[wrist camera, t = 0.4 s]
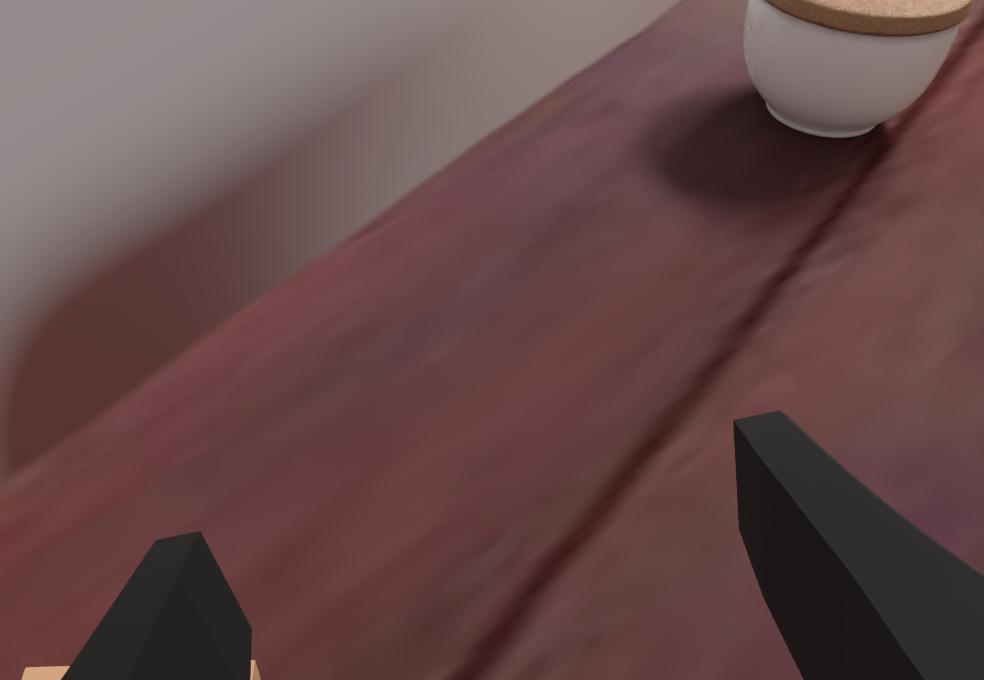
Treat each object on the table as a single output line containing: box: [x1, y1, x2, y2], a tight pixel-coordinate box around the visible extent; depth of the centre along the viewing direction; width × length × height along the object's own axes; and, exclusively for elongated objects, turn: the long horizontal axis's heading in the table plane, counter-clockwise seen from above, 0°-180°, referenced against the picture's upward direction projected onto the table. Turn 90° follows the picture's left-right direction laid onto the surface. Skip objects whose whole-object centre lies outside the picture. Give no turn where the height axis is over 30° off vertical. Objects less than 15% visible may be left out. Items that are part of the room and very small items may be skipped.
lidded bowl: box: [743, 0, 973, 138], centre depth 57 cm, size 13×13×11 cm
